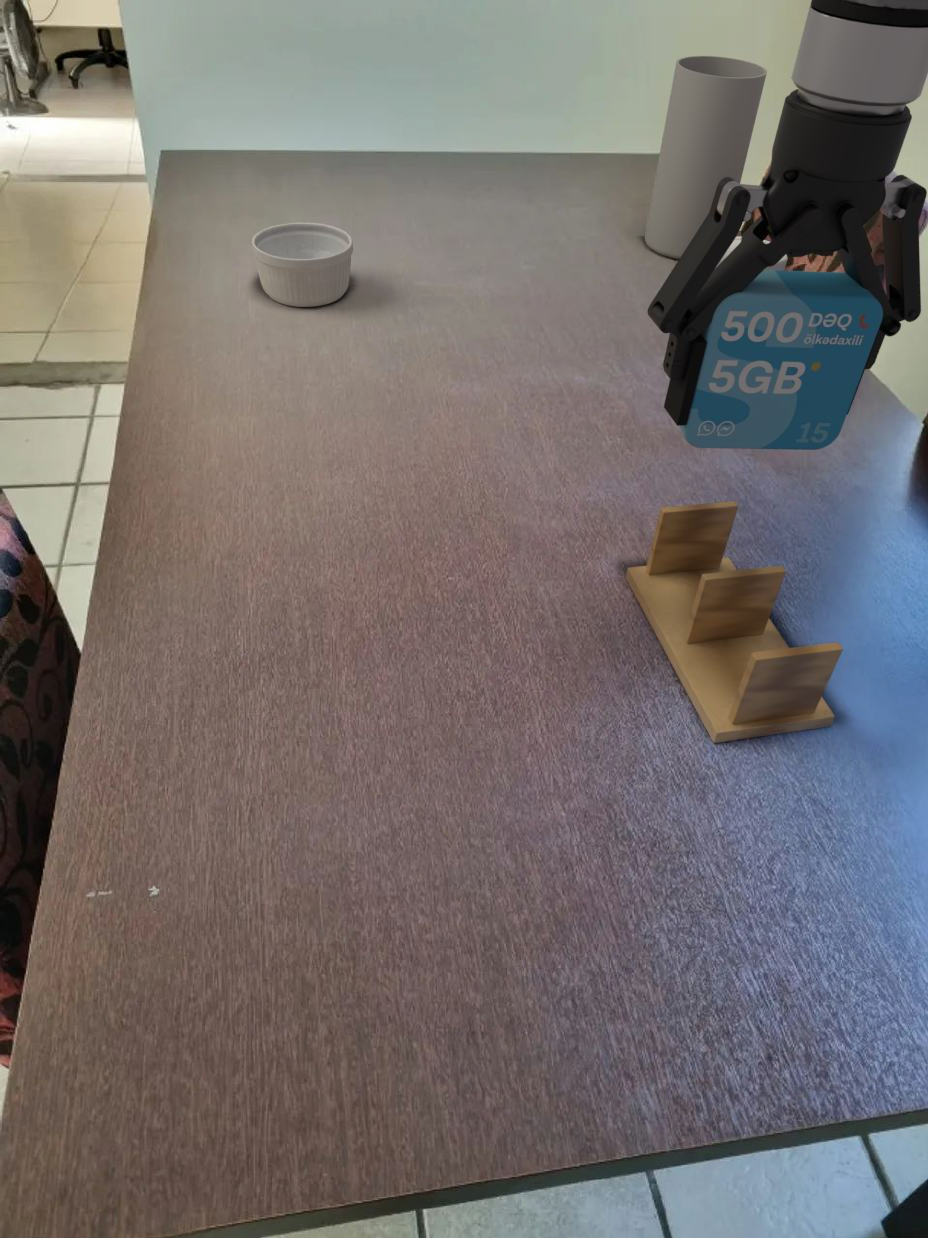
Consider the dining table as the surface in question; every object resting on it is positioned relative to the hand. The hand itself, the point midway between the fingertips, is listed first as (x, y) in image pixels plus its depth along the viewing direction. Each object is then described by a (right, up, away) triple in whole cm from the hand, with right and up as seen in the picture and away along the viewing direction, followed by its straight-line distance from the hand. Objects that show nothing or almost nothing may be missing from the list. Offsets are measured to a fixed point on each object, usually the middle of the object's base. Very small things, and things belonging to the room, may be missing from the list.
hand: (756, 411), depth 71 cm
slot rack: (0, -18, +9) cm, 20 cm away
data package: (0, -2, +1) cm, 2 cm away
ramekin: (-44, +29, +57) cm, 78 cm away
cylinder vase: (+12, +43, +77) cm, 89 cm away
